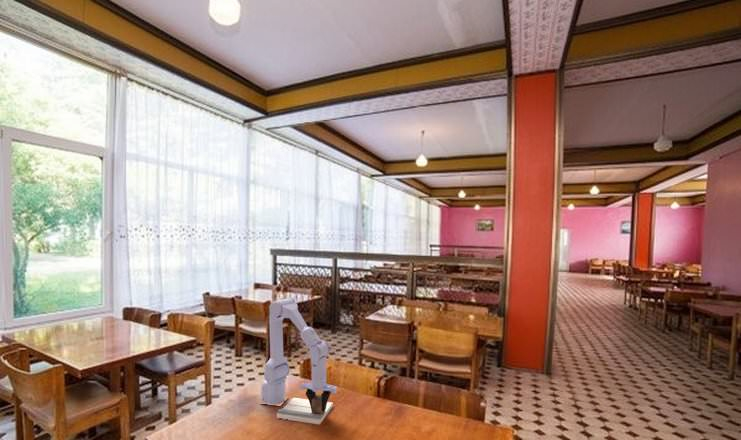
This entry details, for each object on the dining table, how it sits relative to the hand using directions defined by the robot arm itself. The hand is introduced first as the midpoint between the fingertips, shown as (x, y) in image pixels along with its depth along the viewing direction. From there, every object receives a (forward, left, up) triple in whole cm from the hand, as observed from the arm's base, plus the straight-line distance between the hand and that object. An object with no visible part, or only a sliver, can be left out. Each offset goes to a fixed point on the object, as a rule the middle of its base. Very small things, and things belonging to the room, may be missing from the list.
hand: (318, 409), depth 131 cm
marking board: (-6, +2, -3) cm, 7 cm away
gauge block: (0, 0, -1) cm, 1 cm away
